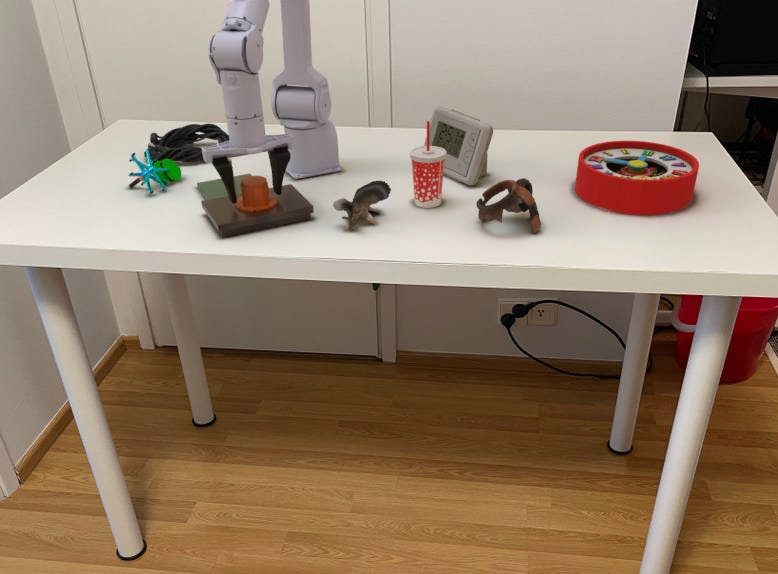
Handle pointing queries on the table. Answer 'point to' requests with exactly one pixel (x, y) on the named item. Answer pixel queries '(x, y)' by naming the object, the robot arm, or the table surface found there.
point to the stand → (238, 221)
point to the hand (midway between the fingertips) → (255, 197)
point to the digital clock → (461, 144)
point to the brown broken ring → (509, 202)
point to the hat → (255, 195)
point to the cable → (184, 142)
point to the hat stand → (219, 186)
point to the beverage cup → (427, 173)
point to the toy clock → (636, 177)
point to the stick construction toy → (155, 172)
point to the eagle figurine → (363, 202)
